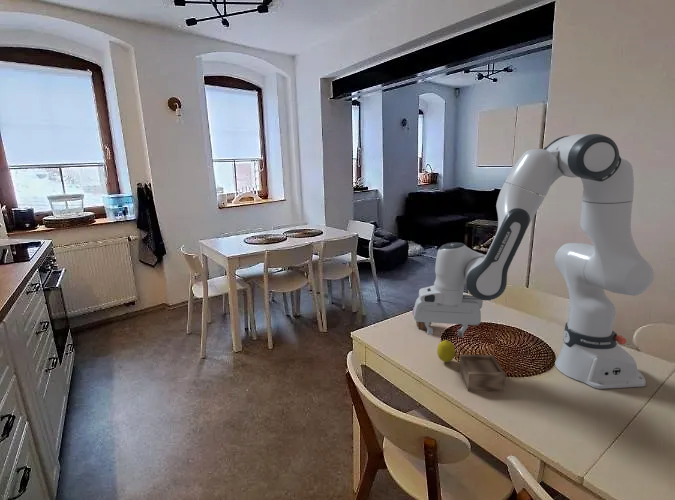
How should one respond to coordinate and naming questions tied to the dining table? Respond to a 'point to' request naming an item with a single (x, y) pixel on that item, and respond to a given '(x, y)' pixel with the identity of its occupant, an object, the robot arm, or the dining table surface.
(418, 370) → the dining table surface
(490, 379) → the walnut tray
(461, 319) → the robot arm
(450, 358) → the lemon
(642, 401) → the dining table surface
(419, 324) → the cupcake
